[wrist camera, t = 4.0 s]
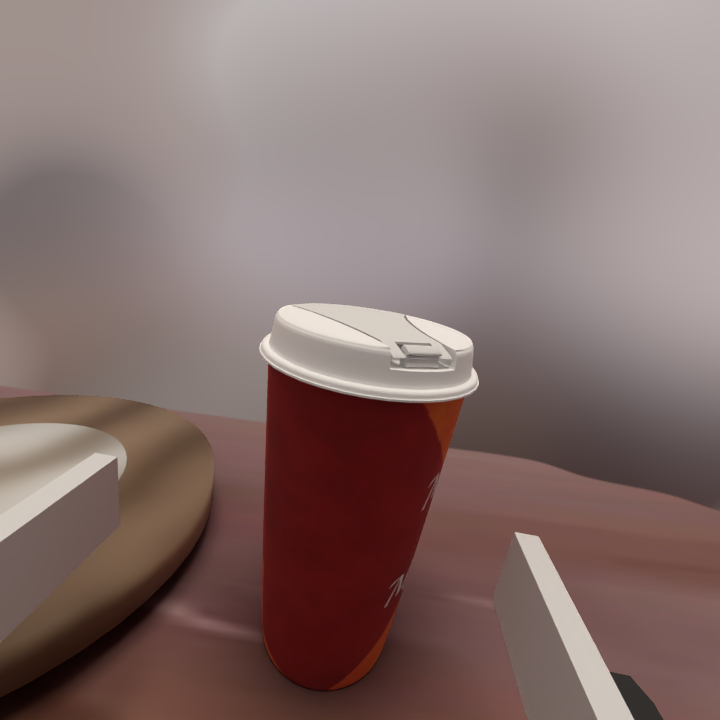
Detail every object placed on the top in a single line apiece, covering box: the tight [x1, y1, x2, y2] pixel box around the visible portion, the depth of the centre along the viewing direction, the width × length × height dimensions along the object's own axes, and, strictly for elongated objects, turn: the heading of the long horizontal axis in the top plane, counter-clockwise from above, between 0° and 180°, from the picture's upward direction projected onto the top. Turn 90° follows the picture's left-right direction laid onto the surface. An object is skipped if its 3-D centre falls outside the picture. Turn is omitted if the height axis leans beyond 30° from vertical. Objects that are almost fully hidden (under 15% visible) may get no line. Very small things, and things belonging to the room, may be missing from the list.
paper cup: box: [259, 303, 479, 691], centre depth 15 cm, size 8×8×14 cm
